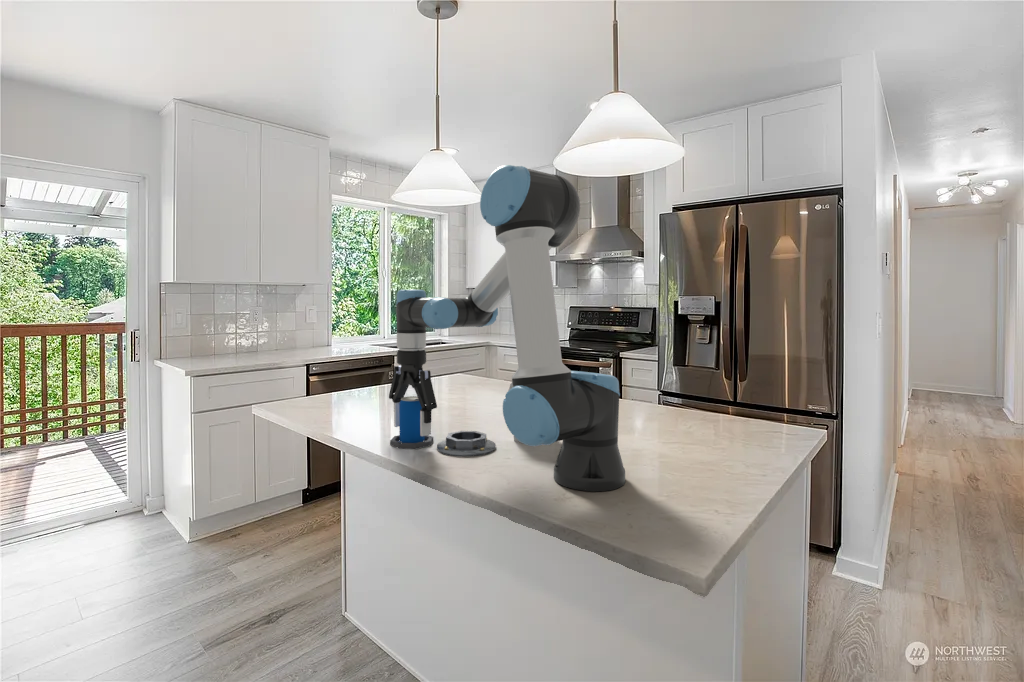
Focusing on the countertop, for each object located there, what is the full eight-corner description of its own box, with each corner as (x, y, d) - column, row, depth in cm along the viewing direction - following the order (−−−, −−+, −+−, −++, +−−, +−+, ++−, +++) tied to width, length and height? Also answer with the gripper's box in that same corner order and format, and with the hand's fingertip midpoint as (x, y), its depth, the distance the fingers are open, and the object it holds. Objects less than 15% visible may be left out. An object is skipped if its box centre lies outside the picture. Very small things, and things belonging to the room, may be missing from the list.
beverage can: (419, 447, 137) (418, 401, 136) (395, 445, 139) (395, 400, 138) (428, 440, 144) (427, 396, 143) (405, 439, 145) (405, 395, 144)
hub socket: (507, 448, 137) (507, 436, 137) (461, 460, 127) (461, 447, 126) (471, 437, 148) (471, 425, 147) (425, 447, 138) (425, 434, 137)
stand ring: (440, 443, 141) (440, 439, 141) (405, 451, 134) (405, 446, 134) (418, 435, 149) (418, 431, 149) (384, 442, 141) (384, 438, 141)
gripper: (451, 351, 133) (451, 437, 135) (399, 344, 151) (400, 420, 152) (425, 353, 128) (426, 442, 130) (375, 346, 145) (376, 424, 147)
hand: (412, 430), depth 141 cm, fingers open, 12 cm apart
